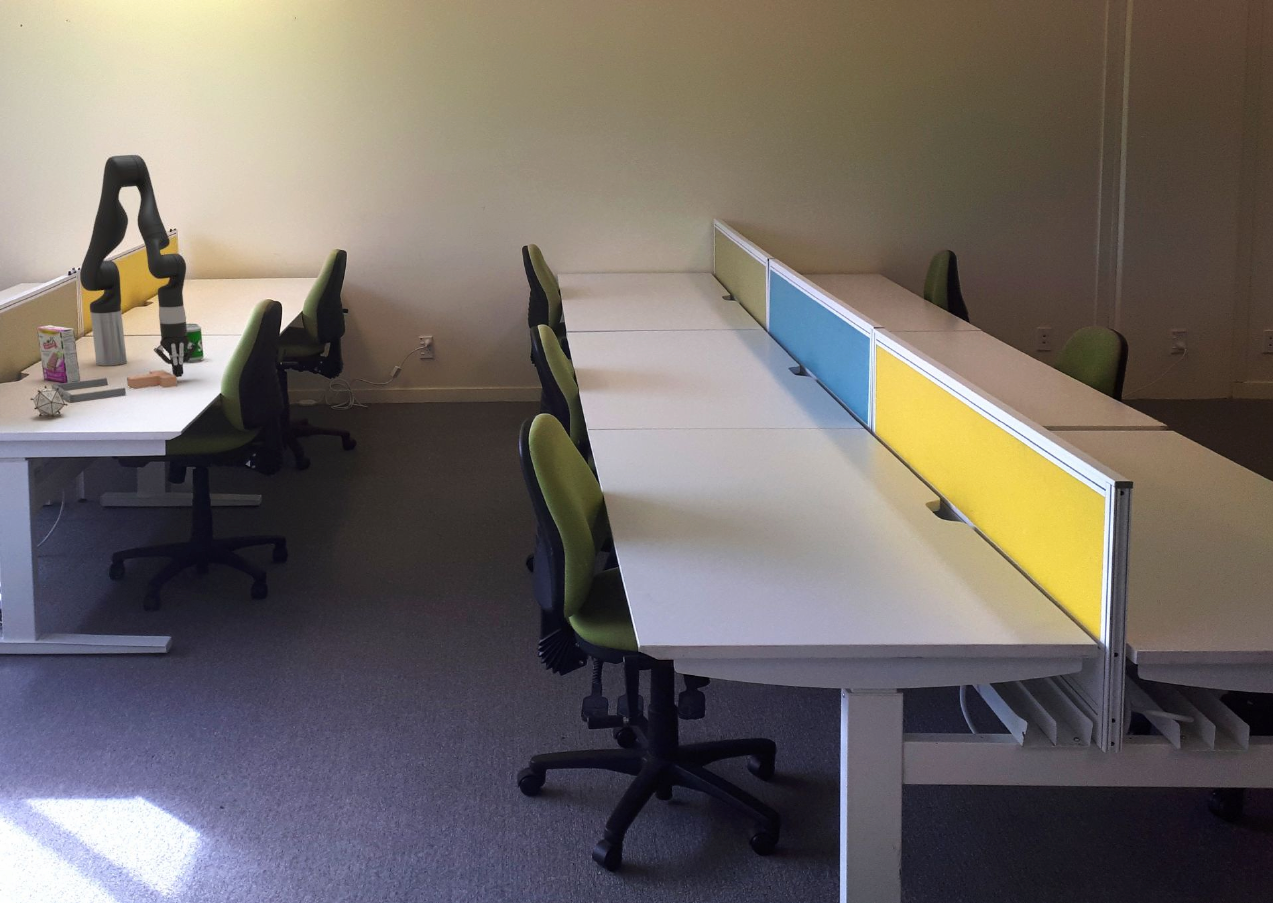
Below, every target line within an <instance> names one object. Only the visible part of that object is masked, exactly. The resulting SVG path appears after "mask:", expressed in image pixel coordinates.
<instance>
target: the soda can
mask: <svg viewBox="0 0 1273 903" xmlns="http://www.w3.org/2000/svg"><path fill="white" fill-rule="evenodd" d="M186 326H187V337H188V339H189V342H191V343H192V344H195V345H197V348H196V350H195V351H194V353H193V354H192V356H191V358H190V359H189V361H188V362H185V363H188V364H189V363H190V364H191V363H199V362H202V359H203V358H204V347H203V338H202V337H203V335H202V327H201V326H199V324H197V323H186ZM187 349H188V348H187V347H186V349H185V351H184V352H183V354H185V352H186V351H187ZM203 360H204V359H203ZM185 363H184V364H185Z"/></svg>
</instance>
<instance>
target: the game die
mask: <svg viewBox="0 0 1273 903" xmlns="http://www.w3.org/2000/svg"><path fill="white" fill-rule="evenodd" d="M58 390H59V388H57V390H54V389H52V388H48V387H47V386H46V385H44V389H42V390H39V389H37V394H36V395H35V397H33V398H32V397H31V398H30V400H31V401H33V402H34V405H35V407H34V408H33V410H34V411H35V410H37V411H38V412H39V415H38V416H39V417H41V416H42V415H47V416H50V417H51V419H54V418H55V416H54V415H56V414H57V413H58V414H61V412H60V411H61V410H62V409H63V407H65V406H68V405H69V404H68V403H65V401H64V399H63V398H62V397H63V396H64V395H63V394H62V395H60V393H59V392H58Z"/></svg>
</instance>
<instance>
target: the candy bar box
mask: <svg viewBox="0 0 1273 903" xmlns="http://www.w3.org/2000/svg"><path fill="white" fill-rule="evenodd" d="M36 330H37V338H38V339H37V340H38V345H39V350H40V359H41V366H42V375H43V379H44V380H46V381H52V382H56V383H57V382H58V383H61V384H62V383H70V382H77V381H81V377H80V367H79V363H78V362H79V361H78V360H79V359H78V352H77V345H76V344H77V343H76V337H75V331H74V330H75V329H74V328H71V327H64V326H58V325H56V326H55V325H50V324H49V325H44V326H39V327H37V328H36Z"/></svg>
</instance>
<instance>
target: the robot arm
mask: <svg viewBox="0 0 1273 903" xmlns="http://www.w3.org/2000/svg"><path fill="white" fill-rule="evenodd" d="M101 185H102V186H101V194H100V200H99V204H98V208H97V211H96V215H95V219H94V222H93V228H92V233H91V238H90V242H89V245H88V249H87V251H86V253H85V256H84V259H83V262H82V264H81V267H80V272H79V275H80V276H79V279H80V280H79V281H80V284H81V286H82V288H83V289H84V290H86V291H89V292H98V291H103V294H102V295H101V296H100V297H98V298H97V299H95V300H93V301H91V302H90V304H89V312H90V320H91V328H92V329H91V330H92V336H93V347H94V353H95V354H94V355H95V363H96V365H97V366H103V367H104V366H107V367H108V366H110V367H111V366H119V364H120V365H123V364H126V363H127V362H128V361H127V352H126V343H125V333H124V325H123V324H124V323H123V322H124V321H123V317H122V306H121V305H122V294H121V293H122V291H121V275H120V270H119V268H118V265H117V264H116V262H114V261H113V260H105V259H106V258H107V257H108V256H109V255H110V254H111V253H112V252H113V251H114V250H115V249H116V248H118V246H119V245H120V244H121V243H122V242H123V240H124V239H125V236H126V233H127V229H128V226H129V225H128V224H129V218H128V214H127V212H126V210H125V208H124V206H123V205H122V203H121V201H120V197H119V196H120V192H121V190H122V188H131V187H136V188H137V190H138V192H139V195H140V202H139V203H140V204H139V209H138V214H137V227H138V231H139V233H140V236H141V238H142V240H143V242H144V245H145V250H146V251H145V252H146V257H147V268H148V271H149V273H150V274H151V275H152V276H153V278H156V279H158V280H163V279H169V280H168V282H167V283H166V284H163V285H162V286H160V287H159V288H158V289H157V298H158V299H157V300H158V318H159V327H160V328H159V329H160V342H159V344H160V345H158V346H157V347H155V348H154V349H153V352H154V353H155V354H156V355H157V356H158V357H160V359H162V361H163V362H165V363H166V364H168V365H171V370H172V374H173V375H175V376H176V378H180V377H182V376H183V375H184V364H185V362H188V361H189V359H190V358H191V356H192V354H193V353H194V351H195V350H196V348H197V345H195V344H192V343H191V342H189V339H188V337H187V326H186V324H187V315H186V309H185V306H184V295H183V291H184V290H183V289H184V284H185V279H186V273H187V263H186V261H185V258H184V257H183V256H182V255H181V254H179V253H166V254H165V253H164V254H162V253H161V251H162V250H164V249H166V248H167V247H169V245H170V243H171V241H170V238H169V235H168V231H167V230H166V228H165V225H164V223H163V220H162V218H161V216H160V213H159V207H158V205H157V200H156V197H155V192H154V188H153V184H152V180H151V175H150V172H149V169H148V165H147V164H146V161H145V160H144V159H143V158H142V157H141V156H140V155H138V154H126V155H123V154H122V155H113V156H109V157H108V159H106V161H105V165H104V169H103V177H102V184H101ZM186 347H187V348H188V349H187V351H186V352H185V354H183V352H184V351H185V349H186ZM164 352H167V353H168V356H167V355H166V354H165V353H164Z"/></svg>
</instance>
